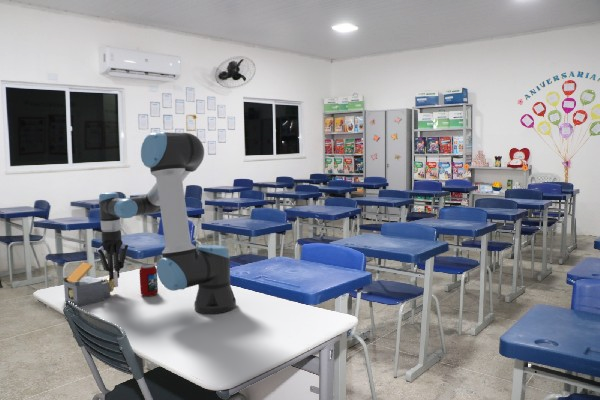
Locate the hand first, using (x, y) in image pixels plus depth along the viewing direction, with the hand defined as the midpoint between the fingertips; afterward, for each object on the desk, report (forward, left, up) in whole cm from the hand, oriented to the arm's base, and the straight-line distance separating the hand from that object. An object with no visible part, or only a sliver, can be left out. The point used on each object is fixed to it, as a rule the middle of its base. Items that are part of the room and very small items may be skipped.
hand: (115, 286), depth 201 cm
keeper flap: (0, +14, +8) cm, 16 cm away
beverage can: (-13, -8, -3) cm, 16 cm away
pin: (0, +10, -2) cm, 10 cm away
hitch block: (0, +11, -3) cm, 11 cm away
